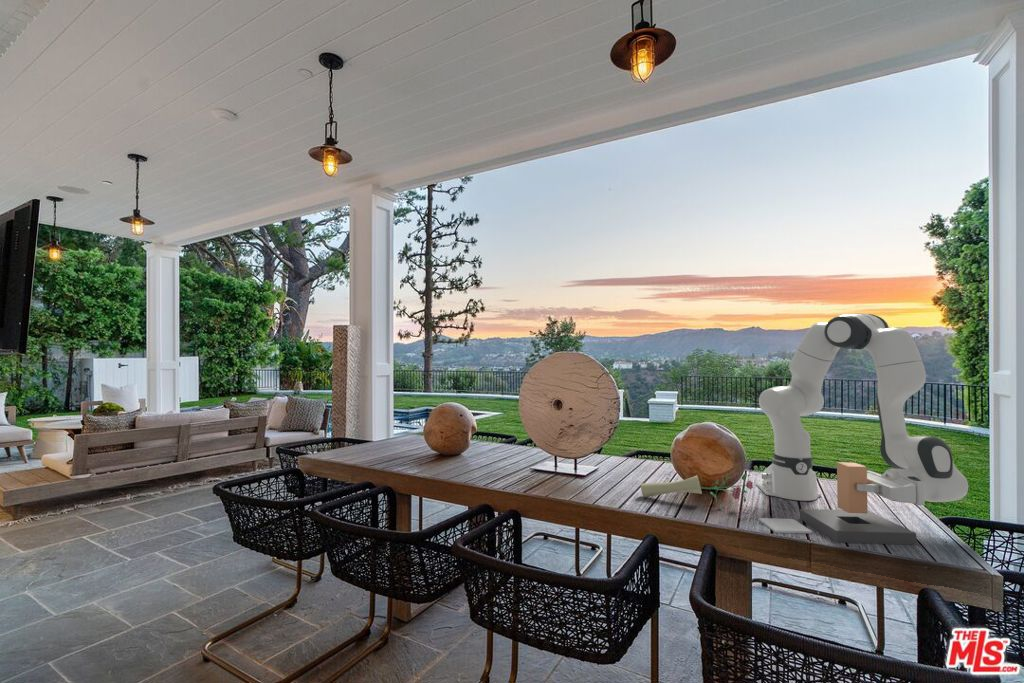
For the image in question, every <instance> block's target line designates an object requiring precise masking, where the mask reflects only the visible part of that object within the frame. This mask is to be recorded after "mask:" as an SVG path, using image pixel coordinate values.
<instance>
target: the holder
mask: <svg viewBox="0 0 1024 683" xmlns="http://www.w3.org/2000/svg"><path fill="white" fill-rule="evenodd" d="M799 520H801V521H802V522H804V523H806V524H807V525H809V526H811V527H812V528H814V529H815V530H817V531H818V532H820V533H821V534H823V535H824V536H826V537H828V538H830V539H831V540H833V541H834V542H836V543H843V544H844V543H846V544H847V543H849V544H850V543H851V544H881V545H885V544H886V545H911V544H914V545H917V532H915V531H913V530H911V529H909V528H906V527H905V526H902V525H900V524H898V523H896V522H893V521H891V520H889V519H887V518H885V517H883V516H881V515H879V514H876V513H875V512H872V511H870V510H868V514H864V513H848V512H846V511H844V510H842V509H817V508H816V509H812V508H800V509H799Z"/></svg>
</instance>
